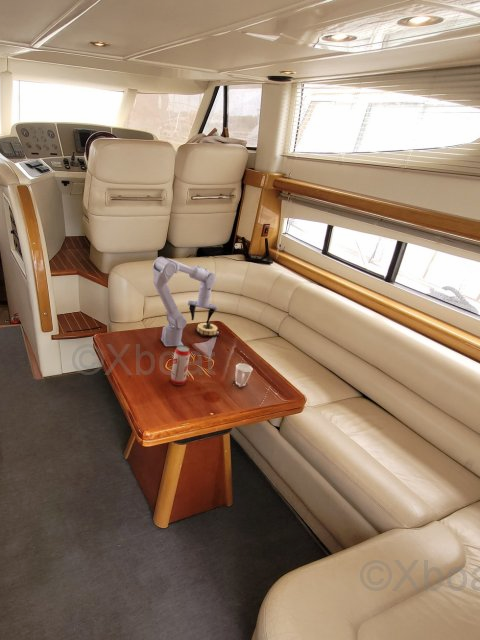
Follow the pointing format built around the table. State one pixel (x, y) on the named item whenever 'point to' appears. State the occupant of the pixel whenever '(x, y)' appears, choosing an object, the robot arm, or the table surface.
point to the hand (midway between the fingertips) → (200, 321)
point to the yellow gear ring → (203, 330)
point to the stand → (207, 335)
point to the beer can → (180, 365)
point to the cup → (242, 374)
